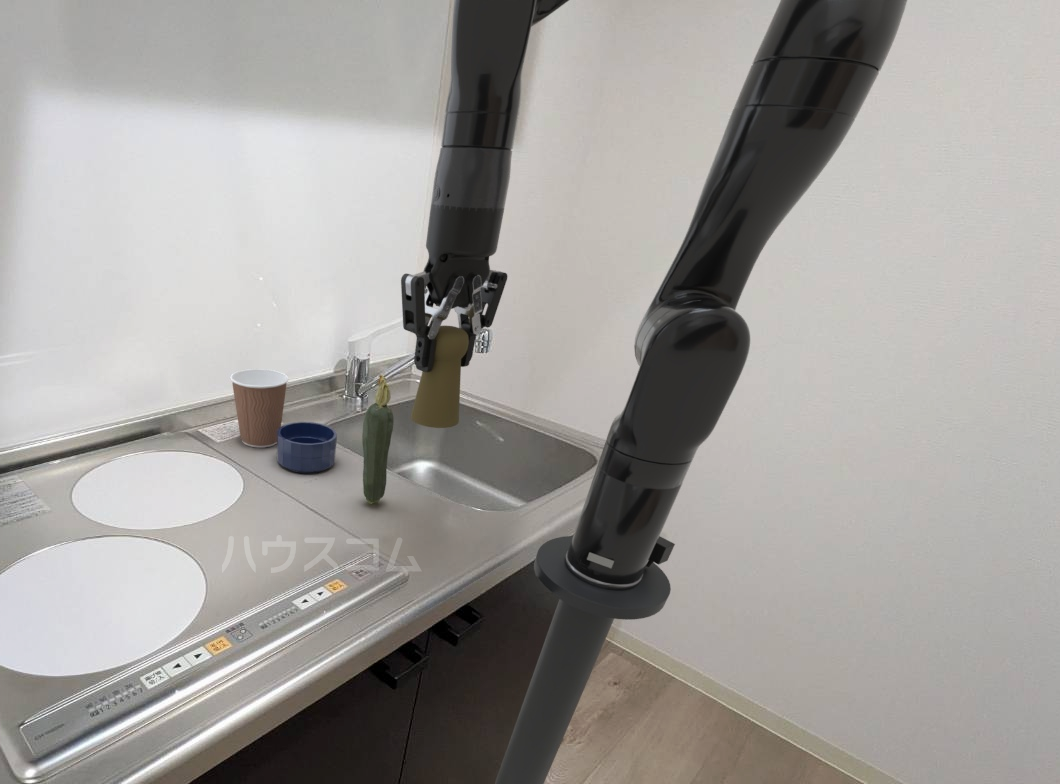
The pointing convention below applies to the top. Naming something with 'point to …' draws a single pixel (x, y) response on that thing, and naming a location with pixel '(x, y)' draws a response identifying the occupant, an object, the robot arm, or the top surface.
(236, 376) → the coffee cup
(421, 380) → the cork
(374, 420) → the vegetable
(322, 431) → the bowl
